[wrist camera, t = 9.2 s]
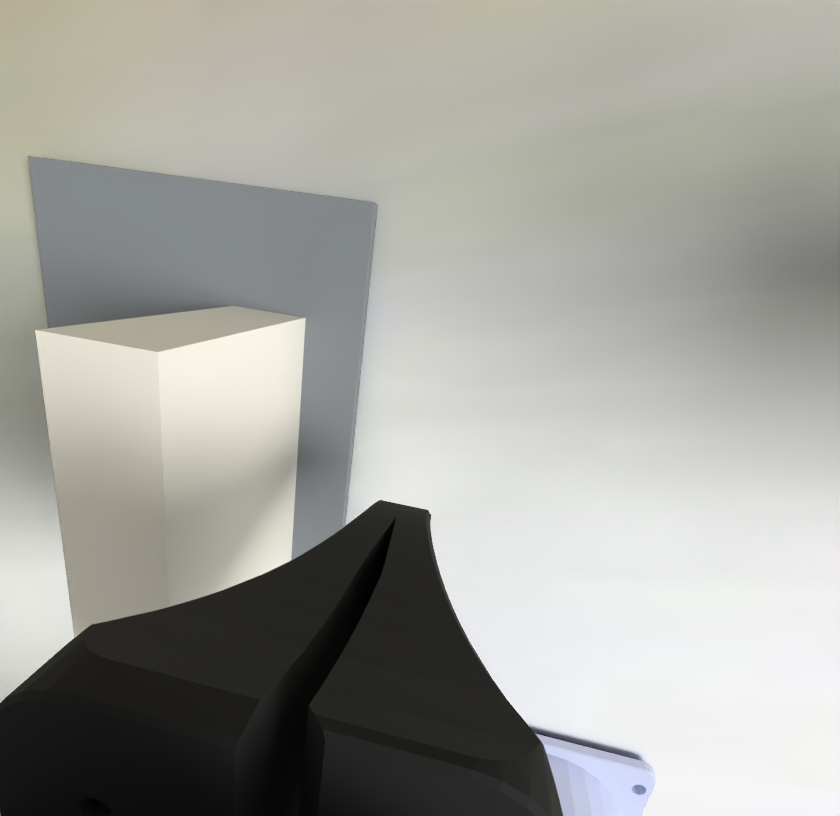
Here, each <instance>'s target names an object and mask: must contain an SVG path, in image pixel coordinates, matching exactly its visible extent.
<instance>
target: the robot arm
mask: <svg viewBox="0 0 840 816" xmlns="http://www.w3.org/2000/svg"><path fill="white" fill-rule="evenodd" d="M430 519H431V514H430V513H429V511H428V510H425V509H420V508H415V507H410V506H406V505H401V504H396V503H391V502H387V501H382V500H379V501H378V502H376V503H375V504H373V505H372V506H371V507H369V508H368V509H367V510H366V511H364V512H363V513H362V514H361V515H359V516H358V517H357V518H355V519H354V520H353V521H351V522H350V523H349V524H347V525H346V526H345V527H343V528H342V529H340V530H339V531H338V532H336V533H335V534H333V535H332V536H330V537H329V538H327V539H326V540H324V541H323V542H321V543H320V544H318V545H316V546H315V547H313V548H312V549H310V550H308V551H307V552H305V553H304V554H302V555H300V556H298V557H297V558H295V559H293V560H291V561H289V562H287V563H285V564H283V565H281V566H279V567H277V568H275V569H273V570H271V571H269V572H266V573H264V574H262V575H260V576H257V577H255V578H252V579H249V580H247V581H244V582H242V583H239V584H237V585H234V586H232V587H229V588H227V589H224V590H222V591H219V592H216V593H213V594H210V595H207V596H204V597H201V598H198V599H194V600H191V601H188V602H184V603H181V604H177V605H174V606H170V607H167V608H163V609H159V610H155V611H151V612H146V613H142V614H138V615H133V616H129V617H124V618H120V619H115V620H111V621H107V622H102V623H96V624H91V625H90V626H89V627H87V628H86V629H85V630H84V631H82V632H81V633H80V634H79V635H78V636H76V637H75V638H74V639H73V640H72V641H70V642H69V643H68V644H67V645H66V646H64V647H63V648H62V649H61V650H60V651H59V652H58V653H56V654H55V655H54V656H53V657H52V658H51V659H50V660H48V661H47V662H46V663H45V664H44V665H43V666H42V667H40V668H39V669H38V670H37V671H36V672H35V673H34V674H32V675H31V676H30V677H29V678H28V679H27V680H26V681H24V682H23V683H22V684H21V685H20V686H19V687H18V688H16V689H15V690H14V691H13V692H12V693H11V694H10V695H8V696H7V697H6V698H5V699H4V700H3V701H2V702H1V703H0V814H1V816H642V814H643V811H644V809H645V807H646V805H647V802H648V800H649V798H650V796H651V793H652V791H653V789H654V787H655V784H656V780H657V779H656V775H655V772H654V770H653V767H652V766H651V765H650V764H648V763H646V762H644V761H640V760H636V759H633V758H629V757H625V756H621V755H617V754H613V753H609V752H605V751H601V750H597V749H594V748H590V747H586V746H582V745H578V744H574V743H570V742H566V741H562V740H558V739H555V738H551V737H547V736H543V735H539V734H535V733H534V732H533V731H532V730H531V728H530V727H529V726H528V725H527V724H526V722H525V721H524V720H523V719H522V717H521V716H520V715H519V714H518V713H517V711H516V710H515V709H514V708H513V707H512V705H511V704H510V703H509V702H508V701H507V699H506V698H505V696H504V695H503V693H502V692H501V691H500V689H499V688H498V686H497V685H496V684H495V682H494V681H493V679H492V678H491V676H490V675H489V673H488V671H487V670H486V668H485V666H484V665H483V663H482V662H481V660H480V658H479V657H478V655H477V653H476V652H475V650H474V648H473V647H472V645H471V643H470V642H469V640H468V638H467V636H466V634H465V632H464V630H463V628H462V626H461V624H460V622H459V620H458V618H457V616H456V614H455V612H454V609H453V607H452V605H451V602H450V600H449V598H448V595H447V592H446V590H445V587H444V584H443V581H442V578H441V575H440V572H439V569H438V565H437V561H436V557H435V553H434V549H433V544H432V538H431V530H430Z"/></svg>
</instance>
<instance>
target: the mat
mask: <svg viewBox="0 0 840 816" xmlns="http://www.w3.org/2000/svg"><path fill="white" fill-rule="evenodd" d="M28 160H29V168H30V177H31V185H32V194H33V202H34V211H35V219H36V228H37V236H38V244H39V253H40V261H41V270H42V278H43V287H44V295H45V304H46V312H47V320H48V328H55V327H63V326H71V325H80V324H88V323H96V322H104V321H112V320H121V319H129V318H137V317H145V316H153V315H162V314H170V313H178V312H186V311H194V310H202V309H211V308H219V307H227V306H238V307H244V308H250V309H256V310H262V311H268V312H274V313H280V314H286V315H292V316H298V317H304V318H306V320H305V337H304V354H303V370H302V387H301V404H300V421H299V438H298V455H297V471H296V488H295V505H294V522H293V539H292V556H291V560H293V559H295V558H297V557H298V556H300V555H302V554H304V553H305V552H307V551H308V550H310V549H312V548H313V547H315V546H316V545H318V544H320V543H321V542H323V541H324V540H326V539H327V538H329V537H330V536H332V535H333V534H335V533H336V532H338V531H339V530H340V529H342V528H343V527H345V522H346V512H347V502H348V492H349V482H350V472H351V463H352V453H353V443H354V433H355V423H356V413H357V403H358V393H359V384H360V374H361V364H362V354H363V344H364V334H365V324H366V314H367V304H368V295H369V285H370V275H371V265H372V255H373V245H374V235H375V225H376V216H377V206H378V204H376V203H374V202H368V201H360V200H353V199H345V198H338V197H330V196H323V195H315V194H308V193H301V192H293V191H286V190H278V189H271V188H263V187H256V186H248V185H241V184H233V183H226V182H218V181H211V180H203V179H196V178H189V177H181V176H174V175H166V174H159V173H151V172H144V171H136V170H129V169H121V168H114V167H106V166H99V165H92V164H84V163H77V162H69V161H62V160H54V159H47V158H39V157H32V156H28Z"/></svg>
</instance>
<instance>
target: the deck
mask: <svg viewBox="0 0 840 816" xmlns="http://www.w3.org/2000/svg"><path fill="white" fill-rule="evenodd" d="M305 320H306V318H304V317H298V316H292V315H286V314H280V313H274V312H268V311H262V310H256V309H250V308H244V307H238V306H227V307H219V308H211V309H202V310H194V311H186V312H178V313H170V314H162V315H153V316H145V317H137V318H129V319H121V320H112V321H104V322H96V323H88V324H80V325H71V326H63V327H55V328H47V329H39V330H35V333H36V341H37V349H38V356H39V364H40V372H41V380H42V388H43V395H44V403H45V411H46V419H47V427H48V435H49V442H50V450H51V458H52V466H53V474H54V481H55V489H56V497H57V505H58V513H59V521H60V528H61V536H62V544H63V552H64V560H65V567H66V575H67V583H68V591H69V599H70V606H71V614H72V622H73V630H74V638H75V637H76V636H78V635H79V634H80V633H81V632H82V631H84V630H85V629H86V628H87V627H89V626H90V625H91V624H96V623H102V622H107V621H111V620H115V619H120V618H124V617H129V616H133V615H138V614H142V613H146V612H151V611H155V610H159V609H163V608H167V607H170V606H174V605H177V604H181V603H184V602H188V601H191V600H194V599H198V598H201V597H204V596H207V595H210V594H213V593H216V592H219V591H222V590H224V589H227V588H229V587H232V586H234V585H237V584H239V583H242V582H244V581H247V580H249V579H252V578H255V577H257V576H260V575H262V574H264V573H266V572H269V571H271V570H273V569H275V568H277V567H279V566H281V565H283V564H285V563H287V562H289V561H291V556H292V539H293V522H294V505H295V488H296V471H297V455H298V438H299V421H300V404H301V387H302V370H303V354H304V337H305Z"/></svg>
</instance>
